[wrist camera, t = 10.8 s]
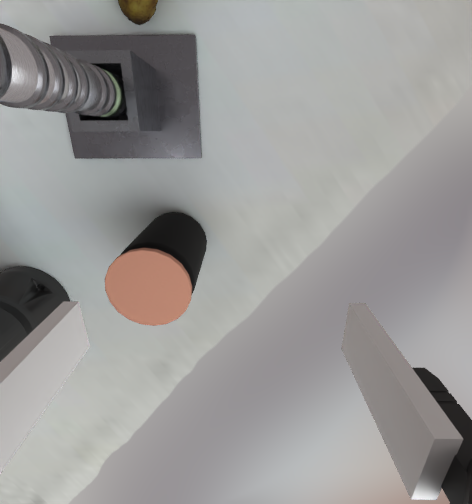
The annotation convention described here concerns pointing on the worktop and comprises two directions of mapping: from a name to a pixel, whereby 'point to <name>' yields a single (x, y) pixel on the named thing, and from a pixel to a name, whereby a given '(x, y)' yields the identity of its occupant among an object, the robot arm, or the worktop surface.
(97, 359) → the worktop surface
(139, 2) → the potato
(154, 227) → the coffee jar
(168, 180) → the worktop surface
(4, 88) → the column
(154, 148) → the stand
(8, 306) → the robot arm
